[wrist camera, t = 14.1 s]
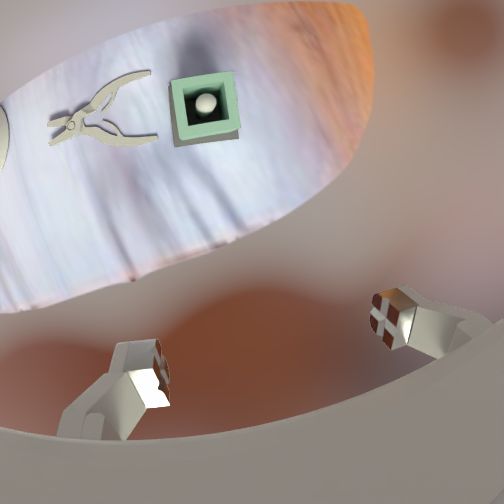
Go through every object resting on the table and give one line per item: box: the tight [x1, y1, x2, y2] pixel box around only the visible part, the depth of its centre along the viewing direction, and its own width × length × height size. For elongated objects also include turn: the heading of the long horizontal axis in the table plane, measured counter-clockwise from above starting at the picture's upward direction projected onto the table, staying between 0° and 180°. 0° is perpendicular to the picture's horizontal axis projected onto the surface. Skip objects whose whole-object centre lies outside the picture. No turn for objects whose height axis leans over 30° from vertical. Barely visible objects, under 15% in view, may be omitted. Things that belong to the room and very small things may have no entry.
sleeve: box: [171, 71, 241, 141], centre depth 28 cm, size 6×6×8 cm
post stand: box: [168, 86, 239, 147], centre depth 29 cm, size 8×8×8 cm
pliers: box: [47, 71, 158, 146], centre depth 29 cm, size 10×2×15 cm
